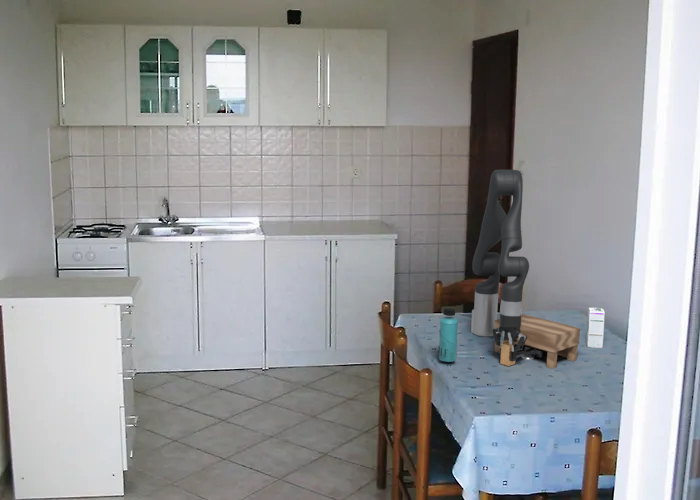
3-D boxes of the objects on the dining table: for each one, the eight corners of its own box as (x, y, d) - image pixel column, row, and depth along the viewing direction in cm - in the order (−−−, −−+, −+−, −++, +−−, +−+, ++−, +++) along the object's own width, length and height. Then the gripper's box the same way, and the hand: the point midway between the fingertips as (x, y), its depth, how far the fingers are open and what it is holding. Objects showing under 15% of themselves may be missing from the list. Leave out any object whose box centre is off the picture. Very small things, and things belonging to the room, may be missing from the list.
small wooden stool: (518, 343, 302) (520, 313, 300) (577, 360, 283) (580, 328, 281) (493, 351, 291) (494, 320, 289) (552, 369, 272) (554, 336, 270)
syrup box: (602, 348, 298) (605, 311, 295) (586, 347, 299) (589, 310, 296) (601, 344, 303) (604, 308, 300) (585, 342, 304) (588, 306, 302)
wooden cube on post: (512, 367, 272) (513, 346, 271) (496, 362, 278) (497, 342, 276) (542, 357, 284) (543, 337, 283) (526, 352, 289) (527, 333, 288)
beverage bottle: (458, 361, 279) (460, 307, 275) (454, 366, 273) (456, 311, 269) (440, 359, 281) (442, 305, 277) (436, 364, 275) (438, 309, 271)
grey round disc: (519, 358, 284) (519, 356, 284) (524, 356, 287) (525, 353, 287) (530, 361, 281) (530, 358, 281) (535, 358, 285) (536, 356, 284)
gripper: (488, 310, 276) (485, 356, 279) (521, 318, 265) (518, 366, 268) (501, 306, 281) (498, 352, 284) (534, 314, 270) (530, 362, 273)
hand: (508, 359), depth 276 cm, fingers closed on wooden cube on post, 3 cm apart
